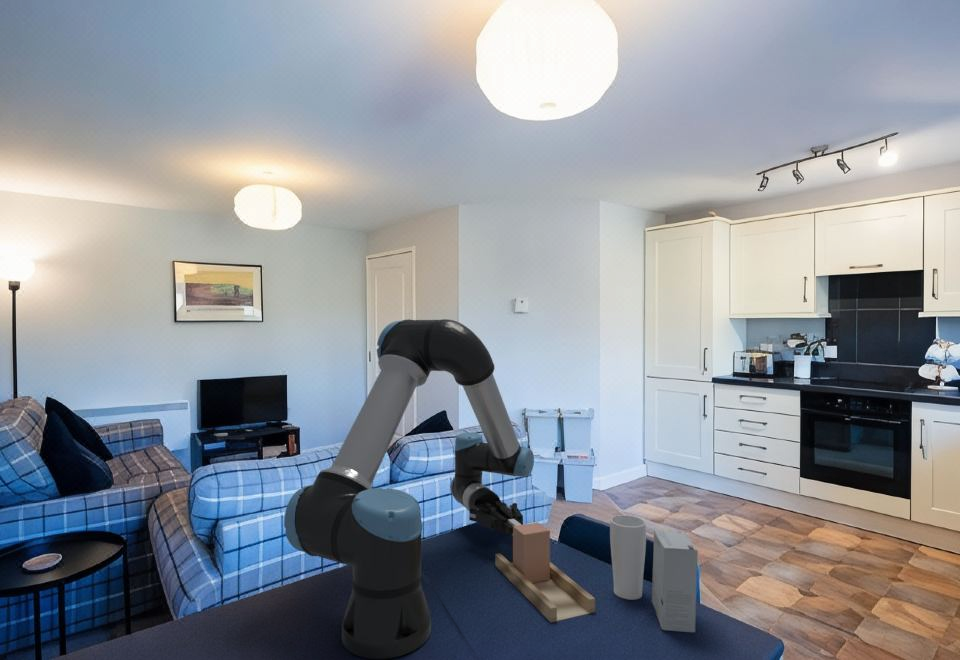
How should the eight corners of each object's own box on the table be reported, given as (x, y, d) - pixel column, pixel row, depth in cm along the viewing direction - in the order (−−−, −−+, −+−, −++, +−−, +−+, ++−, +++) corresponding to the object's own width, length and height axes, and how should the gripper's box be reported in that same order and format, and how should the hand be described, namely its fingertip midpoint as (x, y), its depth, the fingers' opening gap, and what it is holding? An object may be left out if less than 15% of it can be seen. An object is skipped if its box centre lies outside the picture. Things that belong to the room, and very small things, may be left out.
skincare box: (651, 607, 97) (651, 528, 97) (684, 608, 96) (683, 529, 96) (662, 632, 88) (662, 546, 89) (698, 634, 88) (698, 547, 88)
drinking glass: (611, 604, 98) (611, 525, 98) (608, 587, 104) (608, 513, 104) (648, 608, 96) (648, 528, 96) (643, 590, 103) (643, 515, 103)
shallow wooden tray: (495, 569, 112) (495, 554, 112) (532, 562, 115) (532, 547, 115) (550, 628, 90) (550, 608, 90) (594, 617, 93) (595, 598, 93)
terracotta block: (512, 573, 107) (513, 526, 108) (538, 569, 110) (538, 522, 110) (523, 584, 103) (523, 534, 103) (549, 579, 105) (549, 530, 105)
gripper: (504, 513, 134) (550, 548, 112) (457, 520, 129) (496, 558, 107) (504, 484, 134) (550, 514, 112) (457, 490, 129) (496, 522, 107)
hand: (523, 535), depth 109 cm, fingers closed
